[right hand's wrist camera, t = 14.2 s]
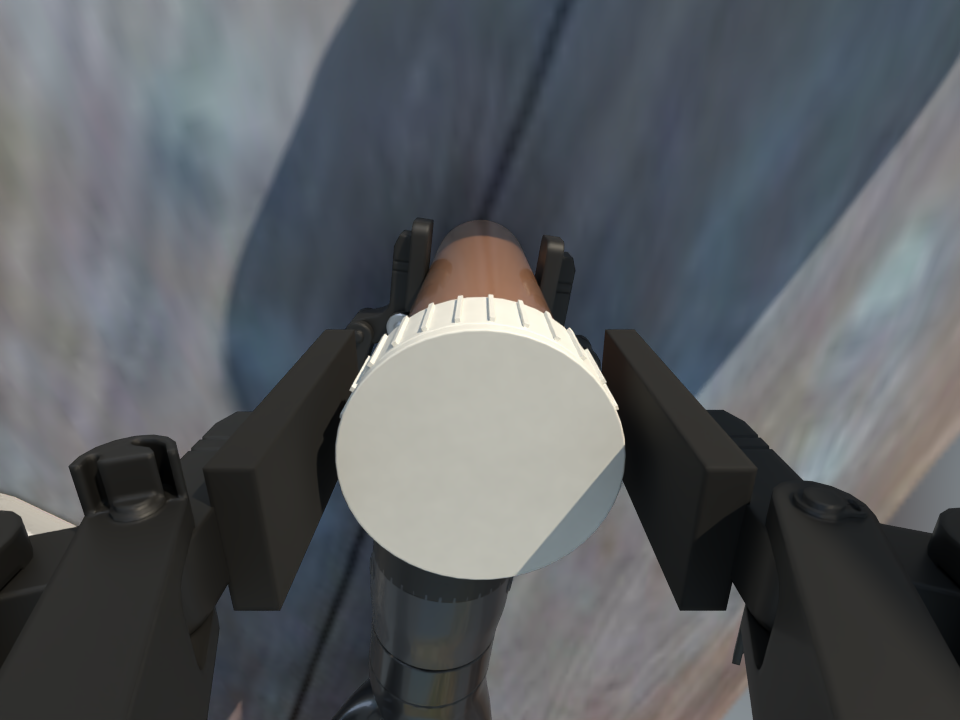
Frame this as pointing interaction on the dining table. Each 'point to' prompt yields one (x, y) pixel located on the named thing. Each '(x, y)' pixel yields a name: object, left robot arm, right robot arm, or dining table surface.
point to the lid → (480, 441)
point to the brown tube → (480, 268)
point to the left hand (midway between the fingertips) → (489, 231)
